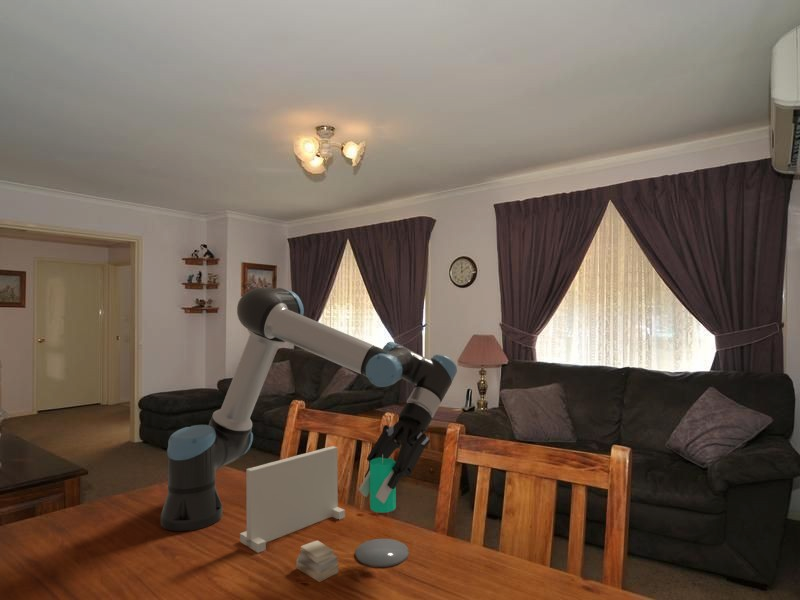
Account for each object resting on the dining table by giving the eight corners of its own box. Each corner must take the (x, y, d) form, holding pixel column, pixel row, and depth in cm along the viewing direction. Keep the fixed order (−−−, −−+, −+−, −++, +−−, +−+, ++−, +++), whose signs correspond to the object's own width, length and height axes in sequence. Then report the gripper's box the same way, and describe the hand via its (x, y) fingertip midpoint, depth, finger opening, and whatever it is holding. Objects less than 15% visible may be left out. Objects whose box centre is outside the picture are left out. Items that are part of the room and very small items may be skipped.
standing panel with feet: (240, 541, 122) (239, 466, 122) (325, 509, 141) (325, 443, 141) (258, 552, 117) (257, 473, 117) (344, 517, 136) (344, 449, 136)
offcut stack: (294, 568, 110) (294, 547, 110) (315, 559, 114) (315, 539, 114) (318, 583, 104) (318, 561, 104) (339, 572, 108) (339, 551, 108)
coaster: (344, 554, 116) (344, 551, 116) (382, 536, 125) (382, 533, 125) (381, 573, 108) (381, 570, 108) (419, 552, 116) (419, 550, 116)
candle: (393, 513, 112) (392, 459, 113) (366, 511, 114) (366, 457, 114) (398, 503, 118) (398, 451, 118) (373, 501, 120) (373, 449, 120)
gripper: (455, 425, 121) (408, 516, 109) (400, 414, 133) (353, 495, 121) (440, 406, 117) (391, 498, 105) (385, 396, 130) (335, 478, 118)
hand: (371, 496), depth 113 cm, fingers closed on candle, 5 cm apart
